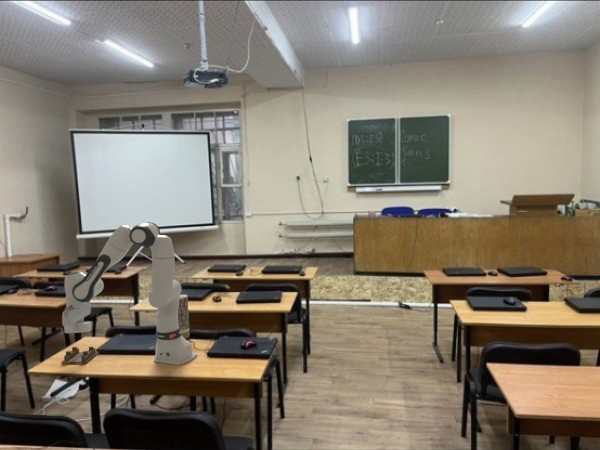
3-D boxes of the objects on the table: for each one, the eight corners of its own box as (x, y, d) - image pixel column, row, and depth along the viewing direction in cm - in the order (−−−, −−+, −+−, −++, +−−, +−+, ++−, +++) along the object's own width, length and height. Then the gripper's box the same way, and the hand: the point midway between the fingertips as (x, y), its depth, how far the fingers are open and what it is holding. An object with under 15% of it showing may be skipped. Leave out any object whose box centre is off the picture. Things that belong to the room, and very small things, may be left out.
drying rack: (98, 353, 219) (98, 344, 219) (86, 363, 207) (85, 353, 207) (75, 354, 220) (74, 344, 219) (61, 363, 208) (60, 354, 207)
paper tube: (187, 339, 236) (185, 297, 234) (176, 339, 236) (173, 297, 234) (191, 335, 243) (188, 294, 240) (179, 335, 243) (177, 294, 241)
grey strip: (64, 333, 210) (63, 324, 210) (67, 331, 213) (66, 322, 213) (88, 332, 211) (88, 323, 211) (91, 329, 214) (90, 321, 214)
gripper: (70, 308, 200) (72, 336, 201) (92, 297, 220) (94, 321, 222) (57, 309, 200) (59, 336, 202) (80, 297, 220) (82, 321, 222)
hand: (78, 328), depth 212 cm, fingers closed on grey strip, 3 cm apart
